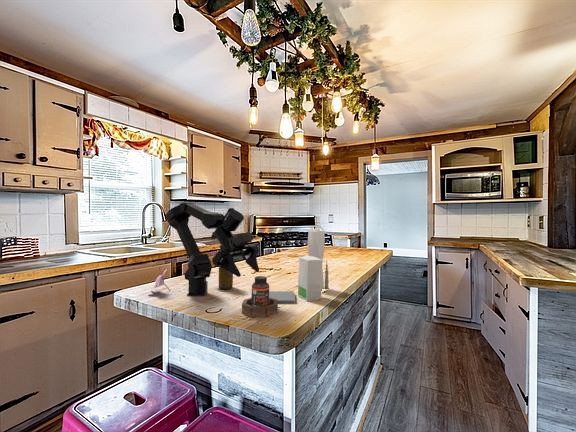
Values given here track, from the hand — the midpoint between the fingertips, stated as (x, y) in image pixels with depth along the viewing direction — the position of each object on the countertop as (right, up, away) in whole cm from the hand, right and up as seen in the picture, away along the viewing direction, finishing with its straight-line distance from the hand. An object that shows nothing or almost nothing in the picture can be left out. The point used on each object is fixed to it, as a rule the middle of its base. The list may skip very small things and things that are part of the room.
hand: (249, 273), depth 97 cm
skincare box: (+22, -12, +13) cm, 28 cm away
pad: (+10, -12, +11) cm, 19 cm away
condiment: (-13, -12, +25) cm, 31 cm away
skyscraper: (+26, -12, +24) cm, 37 cm away
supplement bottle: (+4, -12, -3) cm, 13 cm away
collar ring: (+4, -12, -3) cm, 13 cm away
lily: (-39, -12, +18) cm, 45 cm away
